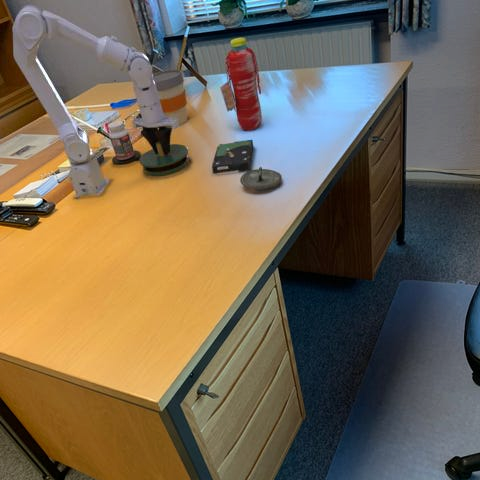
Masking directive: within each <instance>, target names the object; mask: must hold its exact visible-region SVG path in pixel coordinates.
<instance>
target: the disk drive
mask: <svg viewBox="0 0 480 480" xmlns="http://www.w3.org/2000/svg"><path fill="white" fill-rule="evenodd" d="M254 148H255V147H254V142H253V139H248V140H246V139H245V140H238V141H237V140H236V141H234V142H228V143H219V145H217V147H216V151H215V153H214V157H213V161H212V165H211V169H212V173H213V174H221V173H230V172H238V173H239V172H245V171H251V168H252V160H253V154H254Z"/></svg>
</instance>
